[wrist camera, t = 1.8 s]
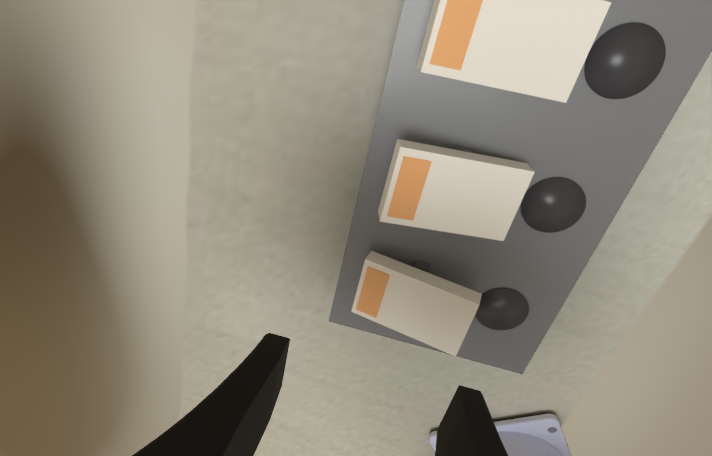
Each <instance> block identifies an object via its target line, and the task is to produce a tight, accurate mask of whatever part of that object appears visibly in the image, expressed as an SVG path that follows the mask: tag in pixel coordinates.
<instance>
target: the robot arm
mask: <svg viewBox="0 0 712 456" xmlns="http://www.w3.org/2000/svg"><path fill="white" fill-rule="evenodd" d="M289 341H290V339H289V338H286V337H282V336H278V335H275V334H271V333H269V334H266V335H265V336H264V337H263V339H262V340H261V341H260V343H259V344H258V345H257V346H256V347H255V349H254V350H253V351H252V352H251V353H250V354H249V355H248V357H247V358H246V359H245V360H244V361H243V362H242V363H241V364H240V365H239V366H238V367H237V368H236V369H235V370H234V371H233V372H232V373H231V374H230V375H229V376H228V377H227V378H226V379H225V380H224V381H223V382H222V383H221V384H220V385H219V386H218V387H217V388H216V389H215V390H214V391H213V392H212V393H211V394H209V395H208V396H207V397H206V398H205V399H204V400H203V401H202V402H201V403H199V404H198V405H197V406H196V407H195V408H194V409H193V410H192V411H190V412H189V413H188V414H187V415H186V416H184V417H183V418H182V419H181V420H179V421H178V422H177V423H176V424H174V425H173V426H172V427H171V428H170V429H168V430H167V431H165V432H164V433H163V434H162V435H160V436H159V437H158V438H157V439H155V440H154V441H152V442H151V443H149V444H148V445H147V446H145V447H144V448H143V449H141V450H140V451H138V452H137V453H135V454H134V455H133V456H253V455H254V453H255V451H256V449H257V446H258V444H259V442H260V440H261V438H262V436H263V433H264V431H265V429H266V427H267V425H268V423H269V420H270V418H271V415H272V412H273V409H274V406H275V403H276V401H277V398H278V395H279V392H280V389H281V386H282V380H283V375H284V369H285V364H286V358H287V352H288V347H289ZM429 442H430V443H431V445H432V447H433V449H434V451H435V456H571V453H570V450H569V448H568V445H567V442H566V439H565V437H564V434H563V431H562V429H561V426H560V423H559V420H558V418H557V417H556V416H555V415H553V414H542V415H535V416H529V417H523V418H516V419H510V420H503V421H497V422H493V420H492V417H491V415H490V412H489V410H488V407H487V405H486V402H485V400H484V397H483V395H482V393H481V392H480V391H478V390H474V389H470V388H467V387H463V386H460V385H459V387H458V389H457V391H456V393H455V395H454V397H453V399H452V401H451V403H450V405H449V407H448V409H447V411H446V413H445V415H444V417H443V419H442V421H441V423H440V425H439V428H438V430H437V431H433V432H431V433H430V434H429Z"/></svg>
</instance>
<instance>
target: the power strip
mask: <svg viewBox="0 0 712 456" xmlns="http://www.w3.org/2000/svg"><path fill="white" fill-rule="evenodd" d="M604 1H608V2H612V3H611V5H610V7H609V9H608V11H607V14H606V16H605V18H604V20H603V22H602V25H601V27H600V29H599V31H598V34H597V36H596V38H595V40H594V42H593V45H592V47H591V49H590V51H589V53H588V56H587V58H586V60H585V62H584V64H583V67H582V69H581V71H580V73H579V76H578V78H577V80H576V82H575V84H574V87H573V89H572V91H571V93H570V95H569V98H568V100H567V102H566V103H564V102H559V101H555V100H550V99H545V98H540V97H536V96H531V95H526V94H522V93H517V92H512V91H507V90H503V89H498V88H493V87H489V86H484V85H479V84H474V83H470V82H465V81H460V80H456V79H451V78H446V77H442V76H437V75H432V74H427V73H423V72H420V71H419V69H418V68H417V63H418V59H419V56H420V52H421V48H422V44H423V40H424V37H425V33H426V29H427V25H428V22H429V18H430V14H431V10H432V7H433V3H434V0H404V3H403V8H402V12H401V16H400V20H399V25H398V29H397V33H396V37H395V42H394V46H393V50H392V54H391V59H390V63H389V67H388V71H387V76H386V80H385V84H384V88H383V93H382V97H381V101H380V105H379V110H378V114H377V118H376V122H375V127H374V131H373V135H372V139H371V144H370V148H369V152H368V156H367V161H366V165H365V169H364V173H363V178H362V182H361V186H360V190H359V195H358V199H357V203H356V207H355V212H354V216H353V220H352V225H351V229H350V233H349V237H348V242H347V246H346V250H345V254H344V259H343V263H342V267H341V271H340V276H339V280H338V284H337V288H336V293H335V297H334V301H333V305H332V310H331V314H330V318H329V321H330V322H334V323H337V324H341V325H345V326H348V327H352V328H356V329H359V330H363V331H366V332H370V333H374V334H377V335H381V336H385V337H388V338H392V339H396V340H399V341H403V342H407V343H410V344H414V345H418V346H421V347H425V348H429V349H432V350H436V351H440V352H443V353H446V352H444V351H442V350H439V349H437V348H435V347H432V346H430V345H428V344H425V343H423V342H421V341H418V340H416V339H414V338H411V337H409V336H407V335H404V334H402V333H400V332H397V331H395V330H393V329H390V328H388V327H386V326H383V325H381V324H379V323H376V322H374V321H372V320H369V319H367V318H365V317H362V316H360V315H358V314H355V313H353V312H351V311H352V307H353V303H354V299H355V295H356V292H357V288H358V284H359V280H360V277H361V273H362V269H363V265H364V262H365V259H366V257H367V256H368V254H369V253H370V252H371V251H374V252H376V253H379V254H381V255H384V256H387V257H389V258H392V259H394V260H397V261H399V262H402V263H404V264H407V265H410V266H412V267H415V268H417V269H420V270H422V271H425V272H427V273H430V274H433V275H435V276H438V277H440V278H443V279H445V280H448V281H450V282H453V283H456V284H458V285H461V286H463V287H466V288H468V289H471V290H473V291H476V292H478V293H481V294H482V296H481V301H480V305H479V307H478V309H477V311H476V314H475V316H474V318H473V320H472V322H471V325H470V327H469V329H468V331H467V333H466V335H465V338H464V340H463V342H462V344H461V346H460V348H459V351H458V353H457V355H456V356H458V357H462V358H465V359H469V360H472V361H476V362H480V363H483V364H487V365H491V366H494V367H498V368H502V369H505V370H509V371H513V372H516V373H520V374H522V373H523V372H524V370H525V368H526V367H527V365H528V363H529V362H530V360H531V358H532V356H533V355H534V353H535V351H536V350H537V348H538V346H539V344H540V343H541V341H542V339H543V338H544V336H545V334H546V333H547V331H548V329H549V327H550V326H551V324H552V322H553V321H554V319H555V317H556V316H557V314H558V312H559V310H560V309H561V307H562V305H563V304H564V302H565V300H566V298H567V297H568V295H569V293H570V292H571V290H572V288H573V287H574V285H575V283H576V281H577V280H578V278H579V276H580V275H581V273H582V271H583V270H584V268H585V266H586V264H587V263H588V261H589V259H590V258H591V256H592V254H593V252H594V251H595V249H596V247H597V246H598V244H599V242H600V241H601V239H602V237H603V235H604V234H605V232H606V230H607V229H608V227H609V225H610V224H611V222H612V220H613V218H614V217H615V215H616V213H617V212H618V210H619V208H620V206H621V205H622V203H623V201H624V200H625V198H626V196H627V195H628V193H629V191H630V189H631V188H632V186H633V184H634V183H635V181H636V179H637V177H638V176H639V174H640V172H641V171H642V169H643V167H644V166H645V164H646V162H647V160H648V159H649V157H650V155H651V154H652V152H653V150H654V149H655V147H656V145H657V143H658V142H659V140H660V138H661V137H662V135H663V133H664V131H665V130H666V128H667V126H668V125H669V123H670V121H671V120H672V118H673V116H674V114H675V113H676V111H677V109H678V108H679V106H680V104H681V103H682V101H683V99H684V97H685V96H686V94H687V92H688V91H689V89H690V87H691V85H692V84H693V82H694V80H695V79H696V77H697V75H698V74H699V72H700V70H701V68H702V67H703V65H704V63H705V62H706V60H707V58H708V57H709V55H710V53H711V51H712V0H604ZM397 139H401V140H406V141H412V142H417V143H422V144H428V145H433V146H438V147H444V148H449V149H454V150H460V151H465V152H470V153H476V154H481V155H486V156H492V157H497V158H502V159H508V160H513V161H518V162H524V163H527V164H528V165H529V166H530V167H531V168H532V169H533V170H534V171H535V173H534V175H533V177H532V179H531V182H530V184H529V186H528V188H527V190H526V193H525V195H524V197H523V199H522V201H521V204H520V206H519V208H518V210H517V212H516V215H515V217H514V219H513V221H512V224H511V226H510V228H509V230H508V232H507V235H506V237H505V239H504V241H500V240H493V239H487V238H481V237H474V236H468V235H462V234H456V233H449V232H443V231H437V230H430V229H424V228H418V227H411V226H405V225H399V224H392V223H386V222H380V219H379V214H378V209H379V206H380V202H381V198H382V194H383V191H384V187H385V183H386V179H387V175H388V172H389V168H390V164H391V160H392V157H393V153H394V149H395V145H396V142H397ZM447 354H449V353H447Z"/></svg>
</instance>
